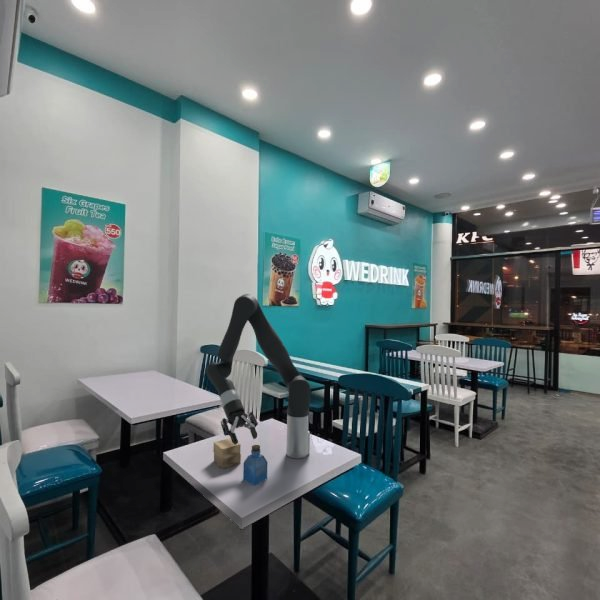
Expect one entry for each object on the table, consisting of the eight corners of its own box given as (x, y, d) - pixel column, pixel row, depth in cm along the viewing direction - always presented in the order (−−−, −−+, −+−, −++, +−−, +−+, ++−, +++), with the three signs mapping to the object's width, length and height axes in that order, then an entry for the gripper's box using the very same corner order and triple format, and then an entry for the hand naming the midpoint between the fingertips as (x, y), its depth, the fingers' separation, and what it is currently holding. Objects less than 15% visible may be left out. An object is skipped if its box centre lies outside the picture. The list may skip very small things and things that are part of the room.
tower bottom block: (231, 456, 142) (232, 447, 142) (240, 464, 136) (240, 454, 136) (213, 461, 137) (214, 451, 138) (221, 469, 131) (222, 459, 131)
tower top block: (231, 447, 142) (231, 437, 142) (240, 454, 136) (240, 444, 136) (213, 452, 137) (213, 442, 137) (221, 459, 131) (222, 449, 131)
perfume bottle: (255, 473, 128) (256, 441, 128) (267, 478, 124) (267, 446, 124) (243, 479, 123) (243, 446, 124) (254, 485, 120) (255, 451, 120)
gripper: (219, 401, 131) (233, 440, 122) (250, 395, 140) (265, 431, 132) (212, 411, 135) (226, 450, 126) (243, 405, 144) (257, 440, 136)
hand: (246, 440), depth 129 cm, fingers open, 8 cm apart
